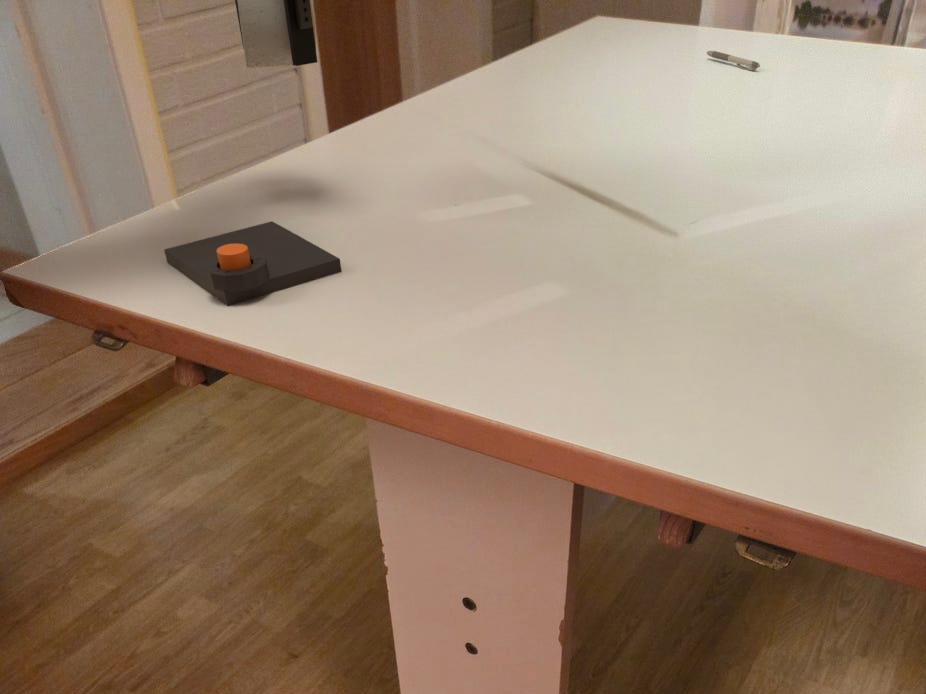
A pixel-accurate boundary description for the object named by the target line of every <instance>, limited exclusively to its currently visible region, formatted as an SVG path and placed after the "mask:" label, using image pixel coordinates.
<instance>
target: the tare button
mask: <svg viewBox="0 0 926 694" xmlns="http://www.w3.org/2000/svg"><path fill="white" fill-rule="evenodd" d="M217 256H218V260H219V264H220V269H222V270H228V271H229V270H240V269H243V268H247V267H249V266H251V261H250V256H249V251H248V247H247V246H246V245H244V244H237V243H235V244H227V245H224V246H221V247H219V248H218V249H217Z"/></svg>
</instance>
